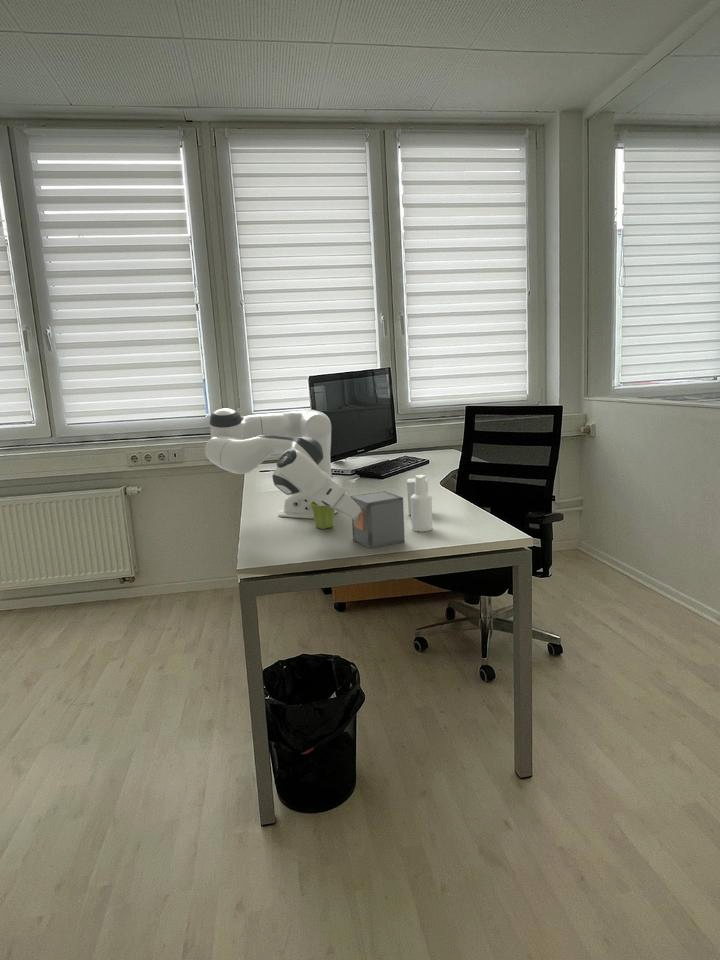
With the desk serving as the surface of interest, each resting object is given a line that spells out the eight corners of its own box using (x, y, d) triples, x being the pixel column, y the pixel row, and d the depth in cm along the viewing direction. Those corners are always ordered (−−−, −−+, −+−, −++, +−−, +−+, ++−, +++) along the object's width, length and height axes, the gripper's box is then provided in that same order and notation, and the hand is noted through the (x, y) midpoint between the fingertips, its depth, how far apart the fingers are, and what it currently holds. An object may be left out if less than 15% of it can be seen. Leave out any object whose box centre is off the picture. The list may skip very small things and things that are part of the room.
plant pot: (340, 523, 210) (339, 499, 208) (335, 530, 201) (333, 505, 199) (315, 523, 211) (313, 499, 210) (308, 530, 202) (306, 505, 201)
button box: (369, 548, 178) (367, 502, 175) (353, 539, 189) (350, 496, 186) (404, 542, 183) (402, 497, 180) (386, 533, 193) (384, 491, 191)
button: (362, 530, 179) (361, 511, 178) (354, 526, 185) (353, 507, 184) (377, 528, 181) (376, 508, 180) (368, 523, 187) (367, 505, 186)
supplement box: (428, 510, 222) (427, 477, 219) (428, 515, 214) (427, 481, 212) (408, 511, 222) (407, 478, 220) (408, 516, 215) (406, 481, 213)
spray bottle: (433, 526, 199) (431, 473, 196) (431, 532, 192) (429, 477, 189) (413, 526, 200) (411, 474, 197) (410, 531, 194) (408, 477, 191)
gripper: (305, 493, 184) (336, 519, 190) (330, 505, 166) (364, 533, 172) (318, 477, 185) (348, 503, 191) (344, 487, 167) (377, 516, 173)
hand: (356, 518), depth 181 cm, fingers closed, pressing on button
